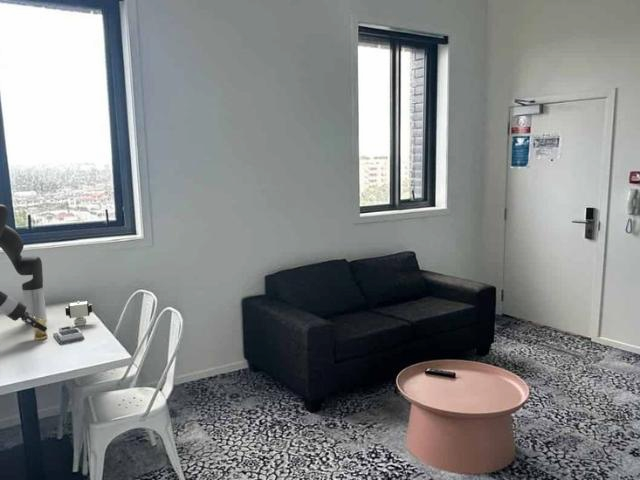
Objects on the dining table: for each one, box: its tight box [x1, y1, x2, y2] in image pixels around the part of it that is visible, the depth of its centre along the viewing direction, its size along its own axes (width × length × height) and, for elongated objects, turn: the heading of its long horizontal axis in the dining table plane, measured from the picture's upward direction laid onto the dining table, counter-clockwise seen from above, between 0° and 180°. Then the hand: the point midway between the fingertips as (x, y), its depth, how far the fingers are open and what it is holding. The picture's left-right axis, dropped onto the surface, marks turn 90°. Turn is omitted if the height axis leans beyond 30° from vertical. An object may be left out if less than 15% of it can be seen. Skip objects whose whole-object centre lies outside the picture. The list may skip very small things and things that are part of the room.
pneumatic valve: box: [64, 300, 93, 327], centre depth 256 cm, size 6×12×12 cm, turn 114°
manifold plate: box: [52, 325, 85, 345], centre depth 237 cm, size 15×10×3 cm, turn 37°
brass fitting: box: [33, 318, 49, 341], centre depth 237 cm, size 5×5×9 cm
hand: (44, 328), depth 238 cm, fingers open, 5 cm apart
